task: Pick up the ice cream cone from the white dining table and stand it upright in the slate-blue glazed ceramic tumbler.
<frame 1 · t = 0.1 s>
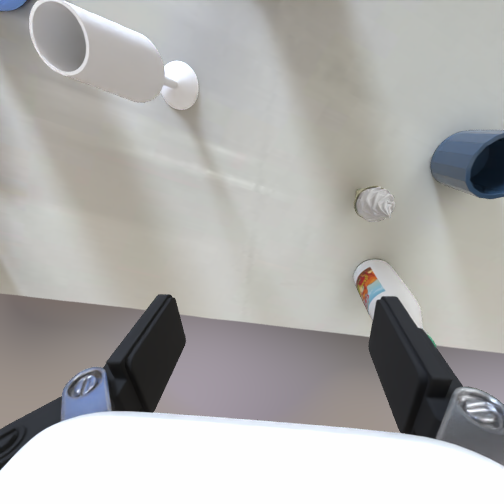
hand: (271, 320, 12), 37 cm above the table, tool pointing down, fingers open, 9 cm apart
tumbler: (459, 159, 40), on the table
milk bottle: (372, 274, 51), on the table
ice cream cone: (357, 190, 44), on the table
champagne flute: (179, 86, 40), on the table
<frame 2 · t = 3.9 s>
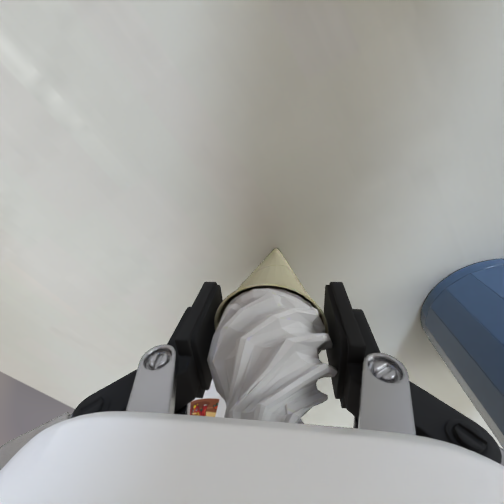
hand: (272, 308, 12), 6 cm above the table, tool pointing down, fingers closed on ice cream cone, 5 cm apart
tumbler: (483, 308, 18), on the table
milk bottle: (225, 393, 27), on the table
ice cream cone: (276, 250, 18), on the table, touching gripper
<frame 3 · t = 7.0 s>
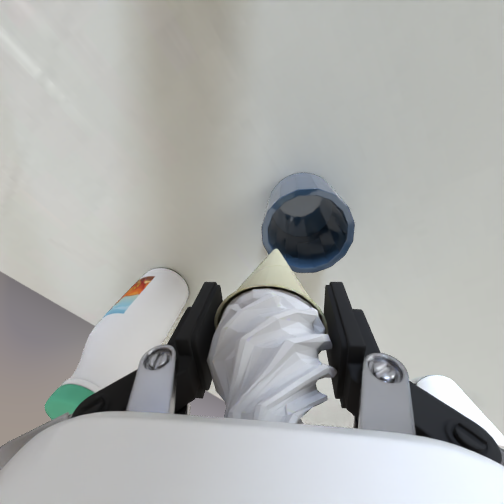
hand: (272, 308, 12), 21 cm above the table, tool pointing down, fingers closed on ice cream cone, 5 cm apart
cup: (432, 385, 42), on the table
tumbler: (301, 207, 31), on the table
milk bottle: (166, 286, 39), on the table
ice cream cone: (276, 250, 18), point 14 cm above the table, touching gripper
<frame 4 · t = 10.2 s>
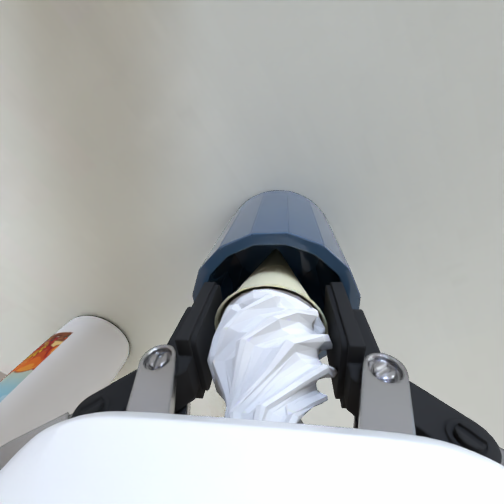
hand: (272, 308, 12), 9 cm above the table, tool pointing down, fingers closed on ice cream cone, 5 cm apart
tumbler: (277, 240, 21), on the table
milk bottle: (101, 338, 29), on the table
ice cream cone: (276, 250, 18), point 3 cm above the table, touching gripper
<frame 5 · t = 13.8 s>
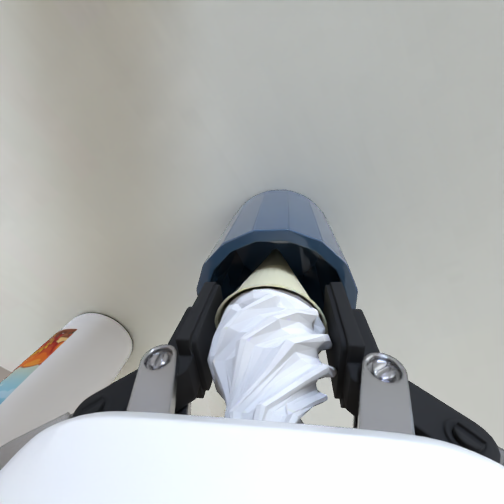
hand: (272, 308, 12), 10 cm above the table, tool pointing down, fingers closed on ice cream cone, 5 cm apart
tumbler: (278, 238, 21), on the table
milk bottle: (104, 335, 30), on the table
ice cream cone: (276, 250, 18), point 3 cm above the table, touching gripper
when the fingers open (10 cm above the table, at t = 17.2 s): ice cream cone drops 3 cm, point 1 cm above the table.
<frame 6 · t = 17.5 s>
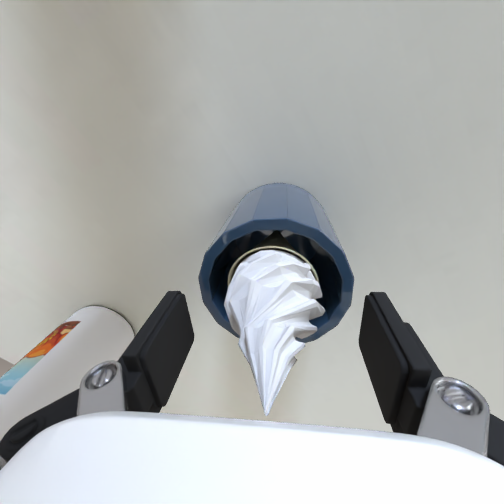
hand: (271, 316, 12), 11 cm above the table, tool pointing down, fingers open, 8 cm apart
tumbler: (277, 231, 22), on the table
milk bottle: (107, 328, 30), on the table
ice cream cone: (276, 232, 21), point 1 cm above the table
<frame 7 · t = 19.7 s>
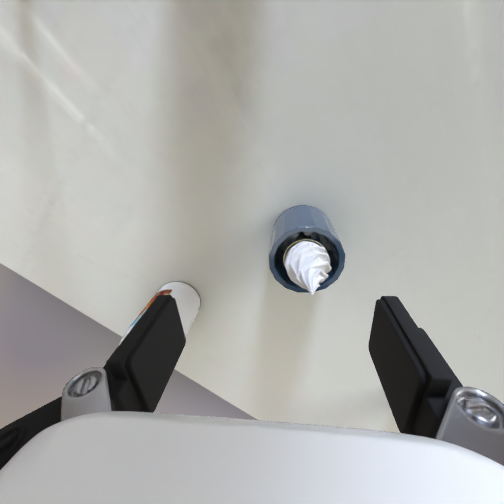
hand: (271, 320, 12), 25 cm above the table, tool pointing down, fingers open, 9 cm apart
tumbler: (301, 233, 36), on the table
milk bottle: (181, 297, 44), on the table
ice cream cone: (301, 233, 36), point 1 cm above the table, touching tumbler
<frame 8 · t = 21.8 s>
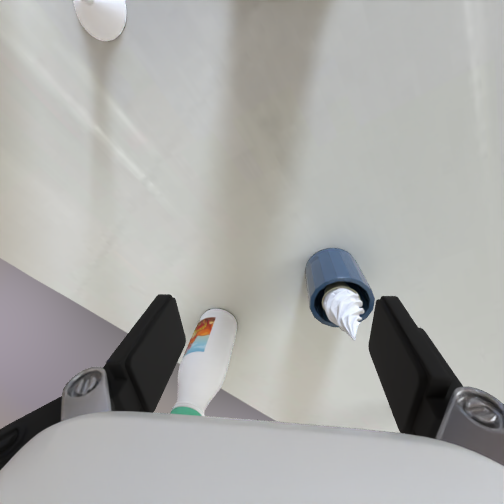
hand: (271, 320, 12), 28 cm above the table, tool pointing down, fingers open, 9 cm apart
tumbler: (330, 270, 42), on the table
milk bottle: (219, 321, 50), on the table
ice cream cone: (330, 271, 41), point 1 cm above the table, touching tumbler
champagne flute: (100, 6, 30), on the table
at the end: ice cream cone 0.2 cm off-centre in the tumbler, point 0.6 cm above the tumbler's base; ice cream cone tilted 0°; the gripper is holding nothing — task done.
